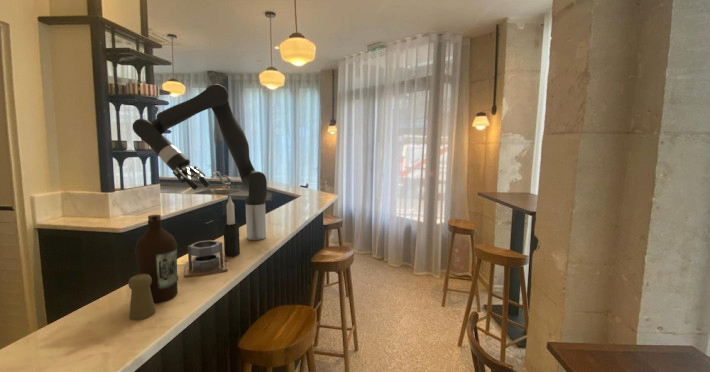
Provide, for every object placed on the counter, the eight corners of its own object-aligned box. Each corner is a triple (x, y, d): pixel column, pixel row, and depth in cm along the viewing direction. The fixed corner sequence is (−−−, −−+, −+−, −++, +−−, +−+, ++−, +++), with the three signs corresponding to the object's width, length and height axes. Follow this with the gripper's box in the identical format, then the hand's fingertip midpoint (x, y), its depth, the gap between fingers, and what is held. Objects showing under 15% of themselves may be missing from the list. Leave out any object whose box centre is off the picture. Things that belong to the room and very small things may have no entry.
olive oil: (130, 301, 94) (123, 218, 91) (161, 286, 104) (156, 211, 101) (157, 307, 91) (151, 221, 88) (187, 291, 101) (183, 213, 98)
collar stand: (186, 264, 124) (184, 241, 123) (225, 258, 130) (224, 237, 129) (184, 277, 112) (183, 252, 110) (227, 271, 118) (226, 247, 116)
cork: (135, 322, 83) (132, 282, 82) (124, 316, 86) (121, 276, 85) (160, 312, 88) (157, 274, 87) (149, 306, 91) (146, 269, 90)
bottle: (240, 253, 137) (238, 195, 134) (235, 257, 132) (232, 197, 129) (229, 252, 138) (227, 194, 135) (223, 256, 133) (220, 196, 130)
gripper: (168, 152, 124) (198, 182, 125) (190, 151, 138) (217, 178, 139) (156, 166, 125) (186, 195, 126) (179, 164, 140) (206, 190, 140)
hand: (202, 186), depth 132 cm, fingers open, 8 cm apart
